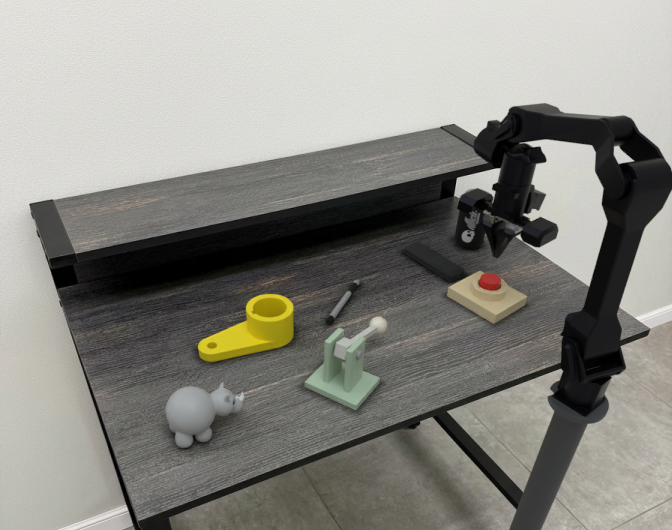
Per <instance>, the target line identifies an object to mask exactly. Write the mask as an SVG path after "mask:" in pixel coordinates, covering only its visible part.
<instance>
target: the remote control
mask: <svg viewBox="0 0 672 530" xmlns="http://www.w3.org/2000/svg"><path fill="white" fill-rule="evenodd" d="M402 253H403V254H404V255H406V256H407V257H409V258H410V259H412V260H413V261H415V262H417V263H418V264H420V265H422V266H423V267H424V268H426V269H428V270H430V271H431V272H432V273H434V274H436V275H437V276H439V277H440V278H442V279H444V280H446V281H447V282H450V283H451V282H455V281H457V280H459V279H461V278H464V277H465V276H466V275H465V274H466V273H465V271H466V270H465V268H464V267H462V266H461V265H459V264H457V263H456V262H454V261H452V260H451V259H449V258H447V257H446V256H444V255H443V254H441V253H439V252H437V251H435V250H434V249H432V248H430V247H429V246H427V245H426V244H424V243H422V242H420V241H416V242H412V243H410V244H408V245H406V246H404V249H403V252H402Z"/></svg>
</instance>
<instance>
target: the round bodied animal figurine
mask: <svg viewBox="0 0 672 530" xmlns="http://www.w3.org/2000/svg"><path fill="white" fill-rule="evenodd" d="M224 385H225V383H224V381H222V382H221V383H220V384H219V386H218V388H216V389H215V390H213V391H212V392H211V393H209V392H207V391H206V390H205V389H203V388H201V387H198V386H193V385H190V386H189V385H188V386H183V387H181V388H179V389H177V390H176V391H174V392H173V393H172V394H171V395H170V397H169V398H168V400H167V403H166V405H165V407H164V412H165V416H166V420H167V422H168V428H169V430H170V431H171V432H172V433H174V434H175V436H174V440H175V445H176V446H177V447H178V448H181V449H187V448H189V447H191V446H192V444H193V443H194V438H195V440H196V441H197V442H200V443H207V442H209V441H210V440H211V439H212V437H213V430H212V428H211V425H212V424H213V422H214V419H215V417H216V416H219V417H226V416H228V415H230V414H238V413H239V412H241V411H242V409H243V407H244V400H245V394H244V392H243V391H241V392H240V395H236V394H234V393H232V391H231V390H229V389H228V388H225V387H224Z"/></svg>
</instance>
